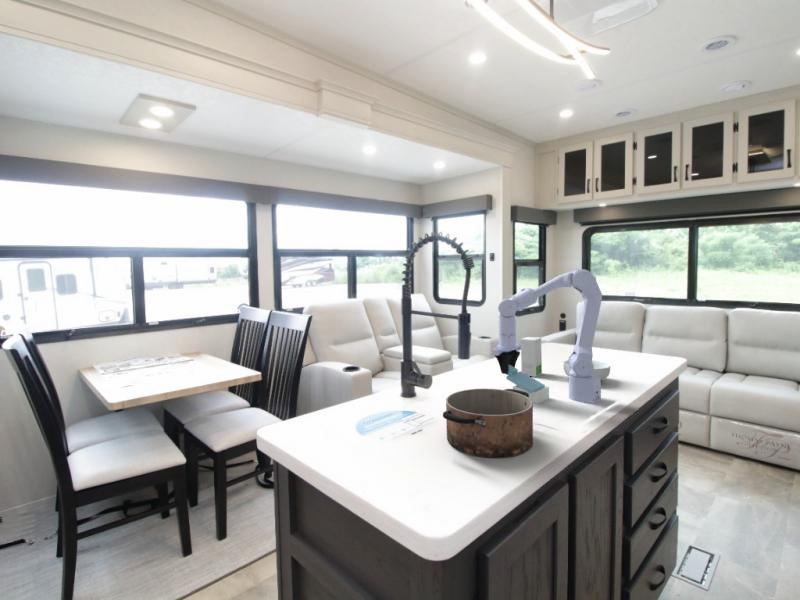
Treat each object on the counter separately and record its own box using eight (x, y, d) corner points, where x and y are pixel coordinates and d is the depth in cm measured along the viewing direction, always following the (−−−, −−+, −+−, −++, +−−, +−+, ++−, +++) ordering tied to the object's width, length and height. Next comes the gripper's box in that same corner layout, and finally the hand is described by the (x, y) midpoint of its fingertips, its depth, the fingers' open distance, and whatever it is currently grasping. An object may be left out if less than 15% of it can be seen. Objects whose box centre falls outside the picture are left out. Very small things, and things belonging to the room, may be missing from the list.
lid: (543, 387, 138) (546, 381, 137) (530, 393, 132) (532, 386, 131) (510, 368, 147) (512, 362, 146) (496, 372, 141) (498, 366, 140)
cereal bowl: (618, 386, 153) (618, 368, 152) (573, 387, 153) (573, 369, 153) (597, 375, 170) (597, 358, 169) (557, 376, 170) (557, 359, 170)
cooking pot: (488, 415, 127) (487, 381, 127) (556, 435, 111) (556, 396, 110) (419, 444, 107) (418, 404, 107) (489, 474, 91) (489, 427, 90)
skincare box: (535, 377, 168) (535, 340, 167) (520, 375, 172) (519, 338, 171) (542, 373, 175) (542, 337, 174) (527, 371, 179) (526, 336, 178)
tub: (549, 399, 139) (549, 386, 139) (536, 405, 134) (536, 391, 133) (525, 394, 146) (525, 381, 145) (512, 399, 140) (512, 386, 140)
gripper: (509, 330, 150) (509, 367, 151) (485, 335, 140) (485, 374, 141) (526, 332, 144) (526, 370, 145) (502, 337, 135) (503, 378, 136)
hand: (507, 372), depth 143 cm, fingers closed on lid, 3 cm apart
